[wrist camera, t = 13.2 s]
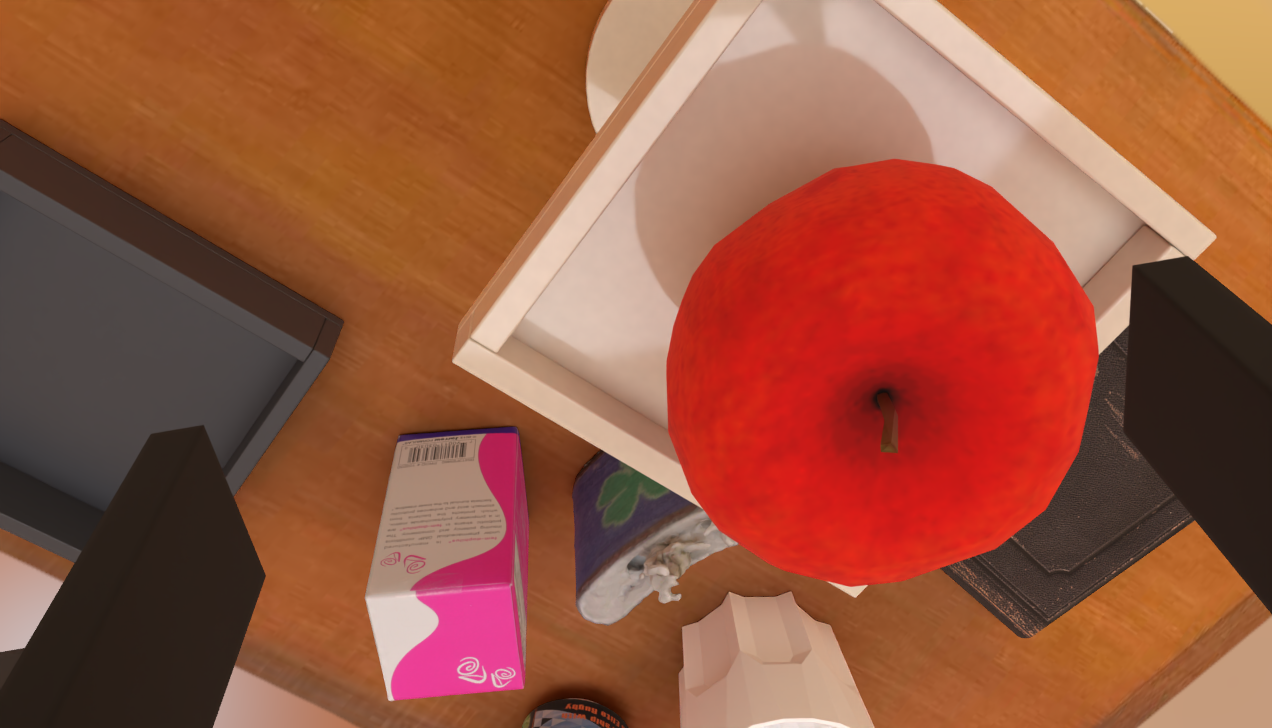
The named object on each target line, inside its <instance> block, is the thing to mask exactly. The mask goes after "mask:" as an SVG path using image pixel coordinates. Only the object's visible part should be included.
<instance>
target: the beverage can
mask: <svg viewBox="0 0 1272 728" xmlns="http://www.w3.org/2000/svg"><path fill="white" fill-rule="evenodd" d="M522 728H628V726H627V725H626V723H625V722H624V720H623V719H622V718H621V717H620V716H619V715H617V714H616V713H615V712H613V711H612V710H610V709H608V708H607V707H605V706H603V705H600V704H598V703H596V702H593V701H590V700H586V699H579V698H568V699H561V700H555V701H551V702H547V703H545V704H543V705H540V706H539V707H537V708H536V709H534V710H533V711H532V712H531V713H530V714H529V715H528V716H527V717H526V719H525V721H524V723H523V726H522Z"/></svg>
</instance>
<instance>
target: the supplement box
mask: <svg viewBox="0 0 1272 728" xmlns="http://www.w3.org/2000/svg"><path fill="white" fill-rule="evenodd" d="M528 543H529V516H528V507H527V498H526V489H525V479H524V470H523V461H522V452H521V444H520V437H519V432H518V429H517V427H502V428H487V429H475V430H474V429H472V430H461V431H448V432H436V433H421V434H409V435H399V436H398V441H397V445H396V449H395V453H394V459H393V463H392V468H391V472H390V477H389V482H388V487H387V492H386V497H385V502H384V507H383V512H382V517H381V522H380V527H379V531H378V536H377V541H376V546H375V551H374V556H373V560H372V565H371V571H370V575H369V580H368V584H367V589H366V594H365V600H366V604H367V609H368V613H369V617H370V622H371V626H372V630H373V634H374V638H375V642H376V647H377V651H378V655H379V659H380V663H381V667H382V672H383V676H384V681H385V686H386V690H387V694H388V700H390V701H393V700H402V699H413V698H426V697H436V696H447V695H458V694H469V693H480V692H492V691H503V690H515V689H523V688H524V684H525V667H526V624H527V583H528Z"/></svg>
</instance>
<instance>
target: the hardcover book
mask: <svg viewBox="0 0 1272 728" xmlns="http://www.w3.org/2000/svg"><path fill="white" fill-rule="evenodd" d="M1128 335H1129V326H1128V327H1127V328H1126V329H1125V330H1124V331H1123V332H1122V333H1121V334H1120V335H1119V336H1118V337H1116V338H1115V339H1114V340H1113V341H1112V342H1111V343H1110V344H1109V345H1108V346H1107V347H1106V348H1105V349H1104V350H1103V351H1102V352H1101V353H1100V354H1099V358H1098V363H1097V368H1096V373H1095V378H1094V383H1093V388H1092V393H1091V398H1090V403H1089V408H1088V412H1087V417H1086V421H1085V426H1084V430H1083V435H1082V439H1081V444H1080V448H1079V452H1078V454H1077V456H1076V458H1075V459H1074V461H1073V463H1072V465H1071V466H1070V468H1069V470H1068V472H1067V473H1066V475H1065V477H1064V479H1063V480H1062V482H1061V484H1060V486H1059V487H1058V489H1057V491H1056V493H1055V494H1054V496H1053V498H1052V499H1051V501H1050V503H1049V505H1048V506H1047V508H1046V510H1045V511H1043V512H1042V513H1041V514H1039V515H1038V516H1037V517H1036V518H1034V519H1033V520H1032V521H1031V522H1029V523H1028V524H1027V525H1025V526H1024V527H1023V528H1022V529H1020V530H1019V531H1018V532H1016V533H1015V534H1014V535H1013V536H1011V537H1010V538H1009V539H1008V540H1006V541H1005V542H1004V543H1002V544H1001V545H1000V546H999V547H997V548H996V549H994V550H991V551H988V552H985V553H982V554H979V555H976V556H974V557H971V558H968V559H965V560H962V561H959V562H956V563H953V564H950V565H948V566H945V567H942V568H940V569H942V570H943V571H944V572H945V573H946V574H947V575H949V576H950V577H951V578H952V579H953V580H954V581H955V582H957V583H958V584H959V585H960V586H961V587H962V588H963V589H965V590H966V591H967V592H968V593H969V594H970V595H971V596H973V597H974V598H975V599H976V600H977V601H978V602H979V603H981V604H982V605H983V606H984V607H985V608H986V609H987V610H989V611H990V612H991V613H992V614H993V615H994V616H995V617H997V618H998V619H999V620H1000V621H1001V622H1002V623H1003V624H1005V625H1006V626H1007V627H1008V628H1009V629H1010V630H1012V631H1013V632H1014V633H1015V634H1016V635H1017V636H1019V637H1021V638H1030V637H1032V636H1034V635H1035V634H1036V633H1038V632H1039V631H1041V630H1042V629H1043V628H1045V627H1046V626H1048V625H1049V624H1050V623H1052V622H1053V621H1055V620H1056V619H1057V618H1059V617H1060V616H1062V615H1063V614H1064V613H1066V612H1067V611H1069V610H1070V609H1071V608H1073V607H1074V606H1076V605H1077V604H1078V603H1080V602H1081V601H1083V600H1084V599H1085V598H1087V597H1088V596H1090V595H1091V594H1092V593H1094V592H1095V591H1097V590H1098V589H1099V588H1101V587H1102V586H1104V585H1105V584H1106V583H1108V582H1109V581H1111V580H1112V579H1113V578H1115V577H1116V576H1118V575H1119V574H1120V573H1122V572H1123V571H1125V570H1126V569H1127V568H1129V567H1130V566H1132V565H1133V564H1134V563H1136V562H1137V561H1139V560H1140V559H1141V558H1143V557H1144V556H1146V555H1147V554H1148V553H1150V552H1151V551H1153V550H1154V549H1155V548H1157V547H1158V546H1160V545H1161V544H1162V543H1164V542H1165V541H1166V540H1168V539H1169V538H1171V537H1172V536H1173V535H1175V534H1176V533H1178V532H1179V531H1180V530H1182V529H1183V528H1185V527H1186V526H1187V525H1189V524H1190V523H1192V522H1193V521H1194V520H1195V519H1194V518H1193V517H1192V516H1191V514H1190V513H1189V512H1188V511H1187V510H1186V508H1185V507H1184V506H1183V505H1182V503H1181V502H1180V501H1179V500H1178V499H1177V497H1176V496H1175V495H1174V494H1173V492H1172V491H1171V490H1170V489H1169V487H1168V486H1167V485H1166V484H1165V483H1164V481H1163V480H1162V479H1161V478H1160V476H1159V475H1158V474H1157V473H1156V472H1155V470H1154V469H1153V468H1152V467H1151V465H1150V464H1149V463H1148V462H1147V461H1146V459H1145V458H1144V457H1143V456H1142V454H1141V453H1140V452H1139V451H1138V449H1137V448H1136V447H1135V446H1134V445H1133V443H1132V442H1131V441H1130V440H1129V438H1128V437H1127V436H1126V435H1125V434H1124V432H1123V424H1124V406H1125V388H1126V370H1127V352H1128Z"/></svg>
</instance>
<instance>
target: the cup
mask: <svg viewBox="0 0 1272 728" xmlns="http://www.w3.org/2000/svg"><path fill="white" fill-rule="evenodd" d="M682 637H683V657H684V666H683V668H682V669H681V671H680V672H679V697H680V724H681V728H875V727H874V725H873V723H872V720H871V718H870V716H869V714H868V712H867V709H866V707H865V705H864V703H863V701H862V698H861V696H860V694H859V692H858V689H857V687H856V685H855V682H854V680H853V677H852V675H851V673H850V670H849V668H848V666H847V663H846V661H845V659H844V656H843V654H842V652H841V649H840V647H839V645H838V642H837V640H836V638H835V635H834V633H833V631H832V628H831V626H830V625H829V624H825V623H822V622H818V621H815V620H814V619H813V618H812V617H810V616H809V615H808V614H807V613H806V612H805V611H804V610H802V609H801V608H800V607H799V606H798V605H797V604H796V602H795V600H794V597H793V594H792V591H790V592H787V593H784V594H782V595H779V596H776V597H742V596H740V595H737V594H734V593H731V592H728V594H727V596H726V598H725V600H724V601H723V603H722V605H720V606H719V607H718V608H716V609H715V610H714V611H712V612H711V613H710V614H708V615H707V616H706V617H704V618H703V619H702V620H700V621H699V622H696V623H693V624H690V625H686V626H683V627H682Z"/></svg>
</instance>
